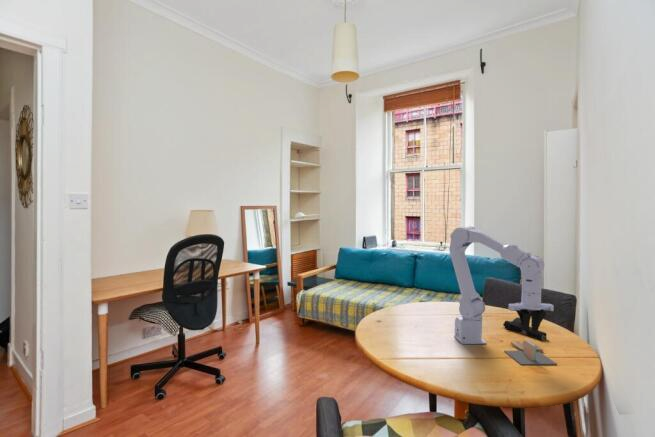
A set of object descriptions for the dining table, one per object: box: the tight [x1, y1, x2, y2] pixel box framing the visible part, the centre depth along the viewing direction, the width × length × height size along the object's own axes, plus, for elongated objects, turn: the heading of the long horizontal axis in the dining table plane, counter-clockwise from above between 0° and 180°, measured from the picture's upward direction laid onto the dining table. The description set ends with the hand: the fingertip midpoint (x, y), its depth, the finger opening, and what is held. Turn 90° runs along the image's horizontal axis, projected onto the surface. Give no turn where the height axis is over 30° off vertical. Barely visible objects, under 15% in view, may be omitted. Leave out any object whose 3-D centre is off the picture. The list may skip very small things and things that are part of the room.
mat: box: [503, 350, 558, 366], centre depth 115 cm, size 12×10×1 cm
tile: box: [523, 339, 537, 360], centre depth 115 cm, size 1×5×5 cm, turn 1°
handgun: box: [502, 316, 548, 341], centre depth 140 cm, size 3×17×12 cm
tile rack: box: [510, 340, 544, 353], centre depth 123 cm, size 8×7×1 cm
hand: (530, 331), depth 115 cm, fingers closed
